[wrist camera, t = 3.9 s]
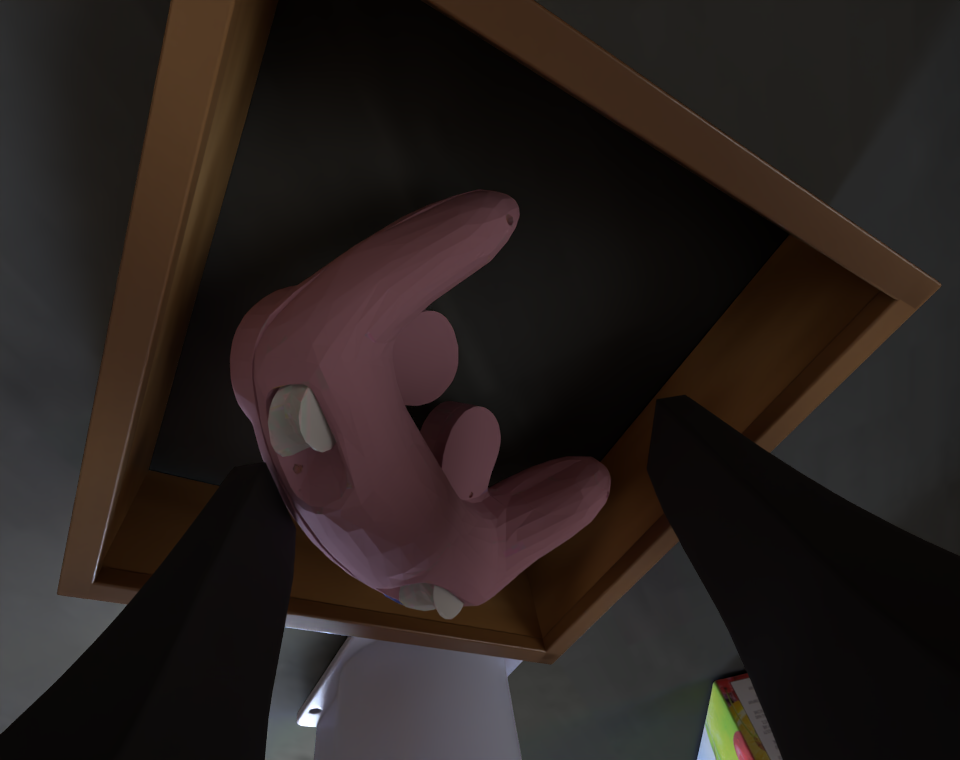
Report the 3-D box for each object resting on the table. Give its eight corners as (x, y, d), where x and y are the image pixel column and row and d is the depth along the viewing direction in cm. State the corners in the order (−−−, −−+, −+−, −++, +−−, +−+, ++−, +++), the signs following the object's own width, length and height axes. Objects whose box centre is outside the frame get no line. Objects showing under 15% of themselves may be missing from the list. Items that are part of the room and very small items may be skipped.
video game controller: (379, 187, 14) (129, 362, 10) (526, 159, 11) (249, 394, 7) (508, 453, 19) (379, 631, 15) (629, 484, 16) (505, 714, 12)
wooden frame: (527, 567, 21) (551, 665, 18) (120, 478, 16) (55, 595, 13) (822, 222, 14) (944, 285, 11) (273, -147, 9) (212, -224, 6)
